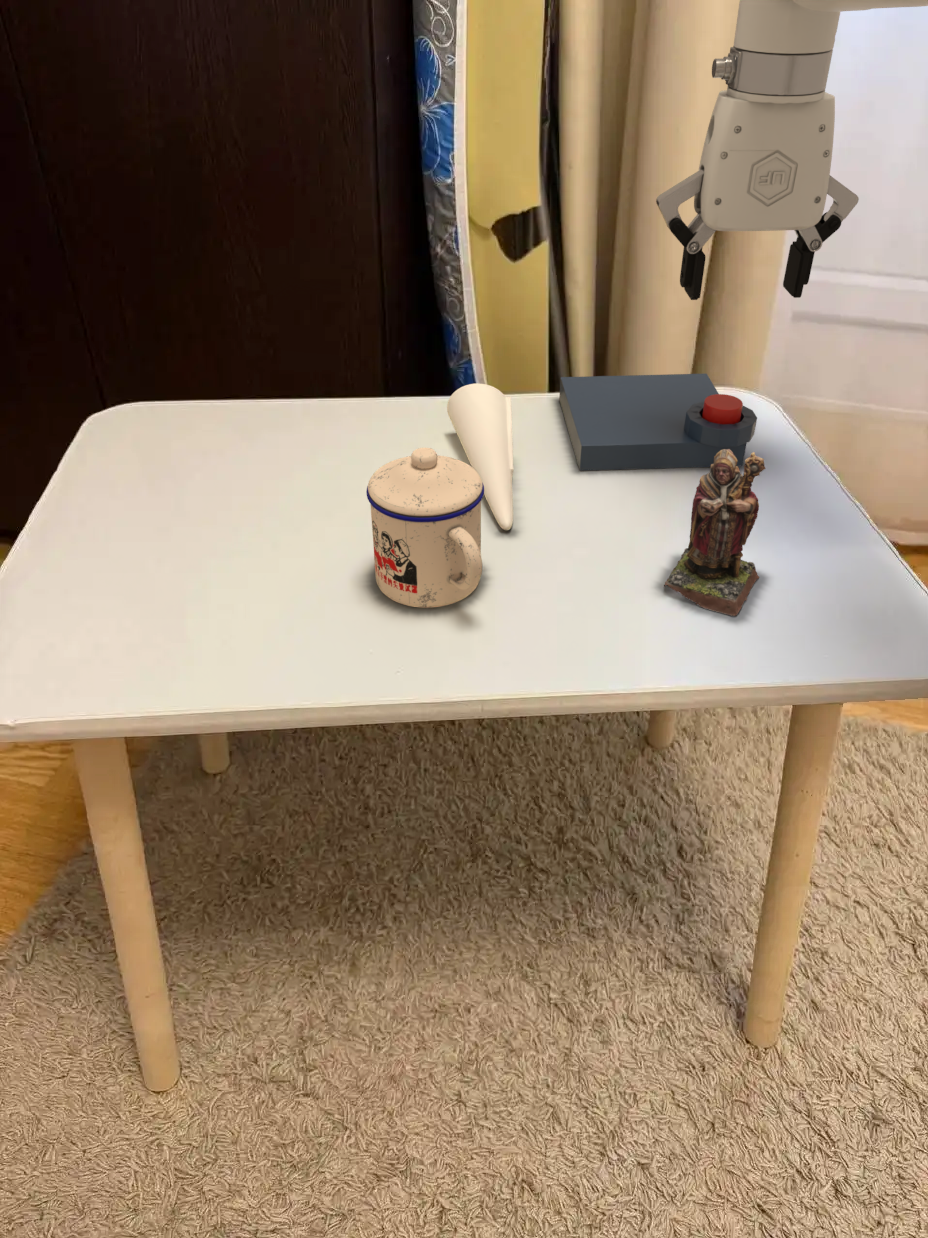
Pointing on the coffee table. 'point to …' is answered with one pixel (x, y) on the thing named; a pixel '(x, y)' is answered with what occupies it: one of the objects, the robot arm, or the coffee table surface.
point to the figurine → (720, 537)
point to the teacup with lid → (426, 529)
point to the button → (722, 409)
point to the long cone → (487, 442)
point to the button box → (647, 422)
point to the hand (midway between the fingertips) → (741, 292)
